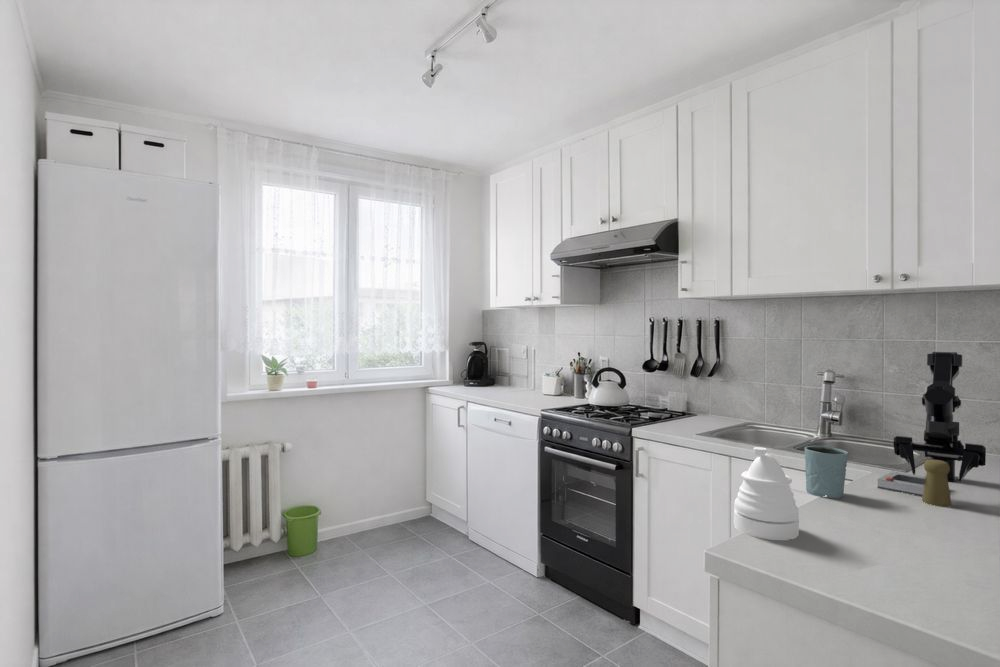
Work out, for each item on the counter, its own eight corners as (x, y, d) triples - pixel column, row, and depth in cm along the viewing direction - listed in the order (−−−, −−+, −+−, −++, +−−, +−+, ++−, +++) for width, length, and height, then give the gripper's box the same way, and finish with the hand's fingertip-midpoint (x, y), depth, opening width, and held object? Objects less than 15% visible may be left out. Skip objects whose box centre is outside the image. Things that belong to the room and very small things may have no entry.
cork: (957, 507, 135) (957, 463, 135) (929, 505, 136) (930, 462, 136) (942, 500, 141) (943, 458, 141) (916, 498, 142) (917, 457, 142)
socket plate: (892, 479, 161) (892, 469, 161) (943, 488, 152) (943, 477, 152) (877, 487, 152) (877, 476, 152) (930, 498, 143) (930, 486, 143)
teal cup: (804, 486, 153) (804, 444, 153) (846, 492, 148) (847, 448, 148) (803, 495, 144) (804, 450, 144) (848, 501, 139) (849, 455, 139)
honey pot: (769, 544, 110) (770, 456, 110) (721, 523, 122) (721, 444, 122) (812, 535, 116) (813, 451, 115) (762, 516, 127) (762, 440, 127)
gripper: (894, 406, 148) (889, 452, 140) (985, 413, 136) (986, 464, 127) (897, 431, 154) (892, 477, 145) (985, 440, 141) (985, 491, 133)
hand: (936, 477), depth 138 cm, fingers open, 9 cm apart
